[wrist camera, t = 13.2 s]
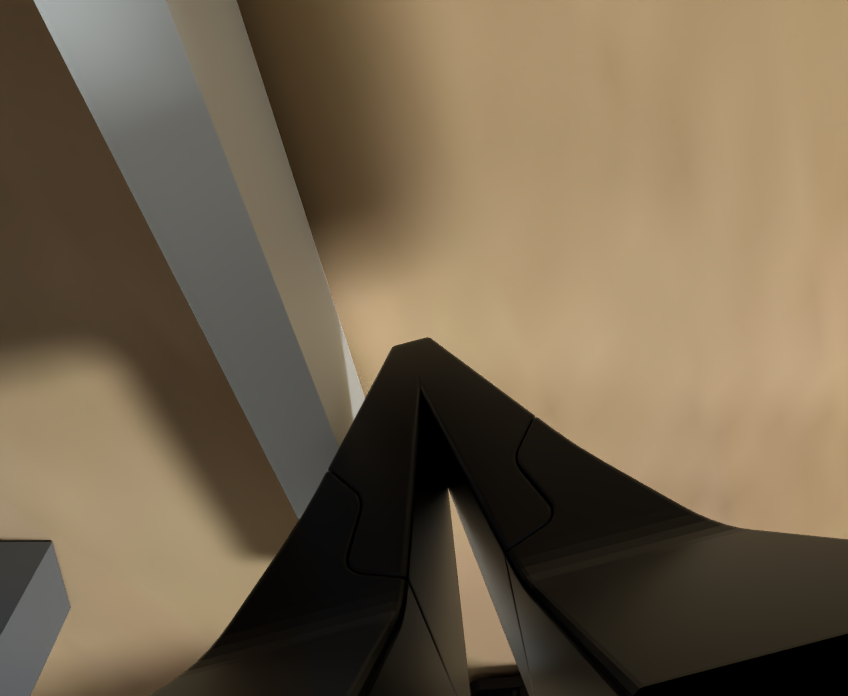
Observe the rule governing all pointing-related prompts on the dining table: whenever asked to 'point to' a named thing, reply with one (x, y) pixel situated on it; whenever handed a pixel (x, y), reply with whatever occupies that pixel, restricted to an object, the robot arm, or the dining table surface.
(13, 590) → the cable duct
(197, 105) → the light grey flat bar
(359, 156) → the dining table surface
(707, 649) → the robot arm
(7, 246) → the dining table surface
